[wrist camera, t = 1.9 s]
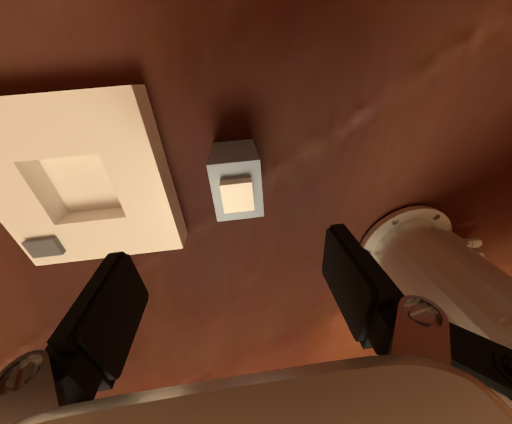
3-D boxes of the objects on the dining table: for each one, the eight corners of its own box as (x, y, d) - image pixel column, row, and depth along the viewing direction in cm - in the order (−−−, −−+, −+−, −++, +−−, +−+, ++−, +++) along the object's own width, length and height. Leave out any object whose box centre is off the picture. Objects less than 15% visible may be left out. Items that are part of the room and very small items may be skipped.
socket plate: (144, 84, 19) (127, 84, 16) (187, 232, 27) (182, 251, 24) (-49, 101, 19) (-106, 105, 15) (54, 248, 27) (31, 269, 24)
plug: (252, 138, 22) (261, 164, 16) (256, 184, 25) (265, 222, 18) (213, 142, 22) (205, 169, 15) (221, 187, 25) (216, 228, 18)
